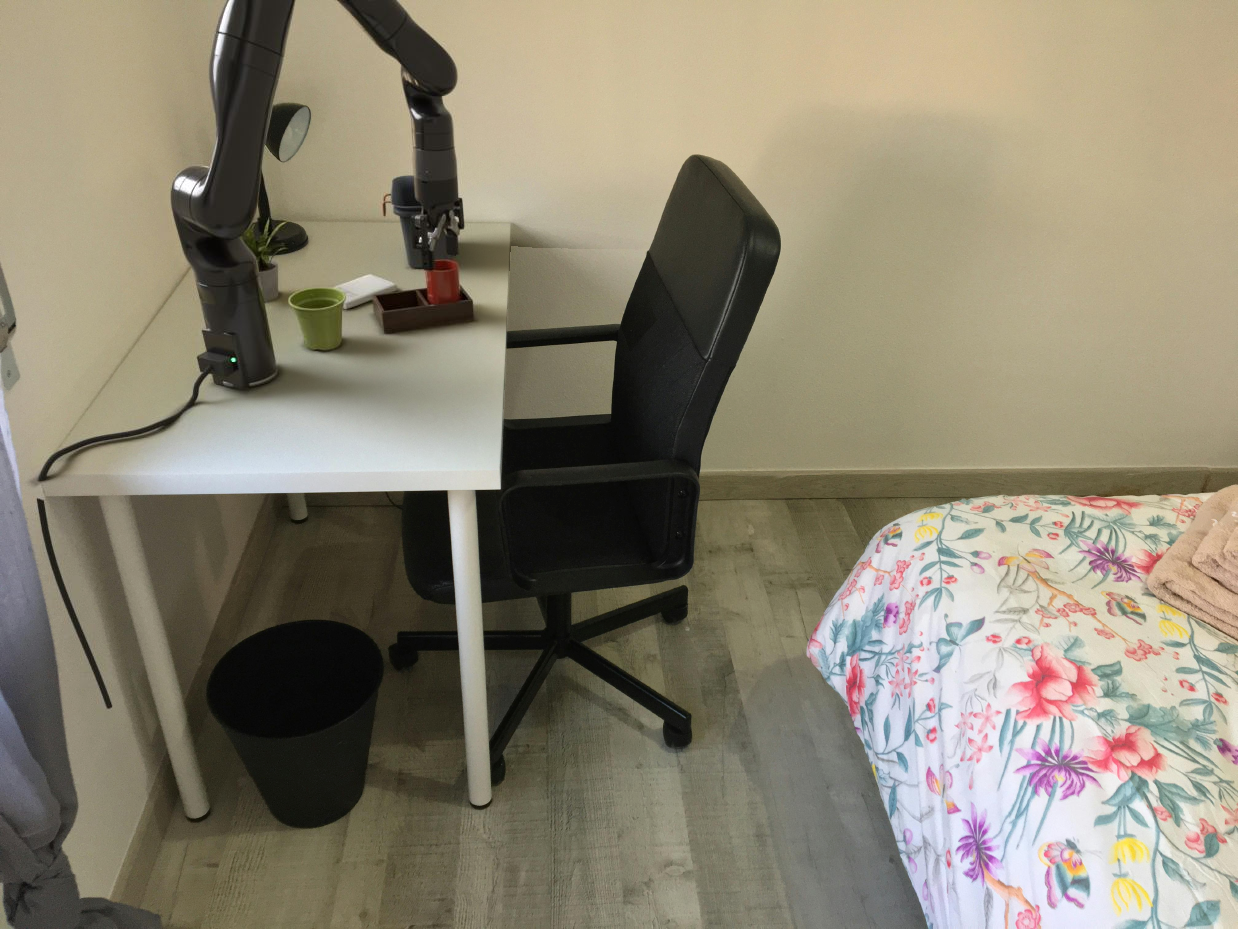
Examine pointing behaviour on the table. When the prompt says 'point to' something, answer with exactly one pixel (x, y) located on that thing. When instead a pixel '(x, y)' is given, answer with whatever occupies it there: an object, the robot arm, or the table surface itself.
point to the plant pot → (319, 316)
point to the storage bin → (405, 209)
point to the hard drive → (364, 289)
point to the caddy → (418, 310)
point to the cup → (443, 282)
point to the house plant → (265, 261)
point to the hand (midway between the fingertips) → (441, 262)
